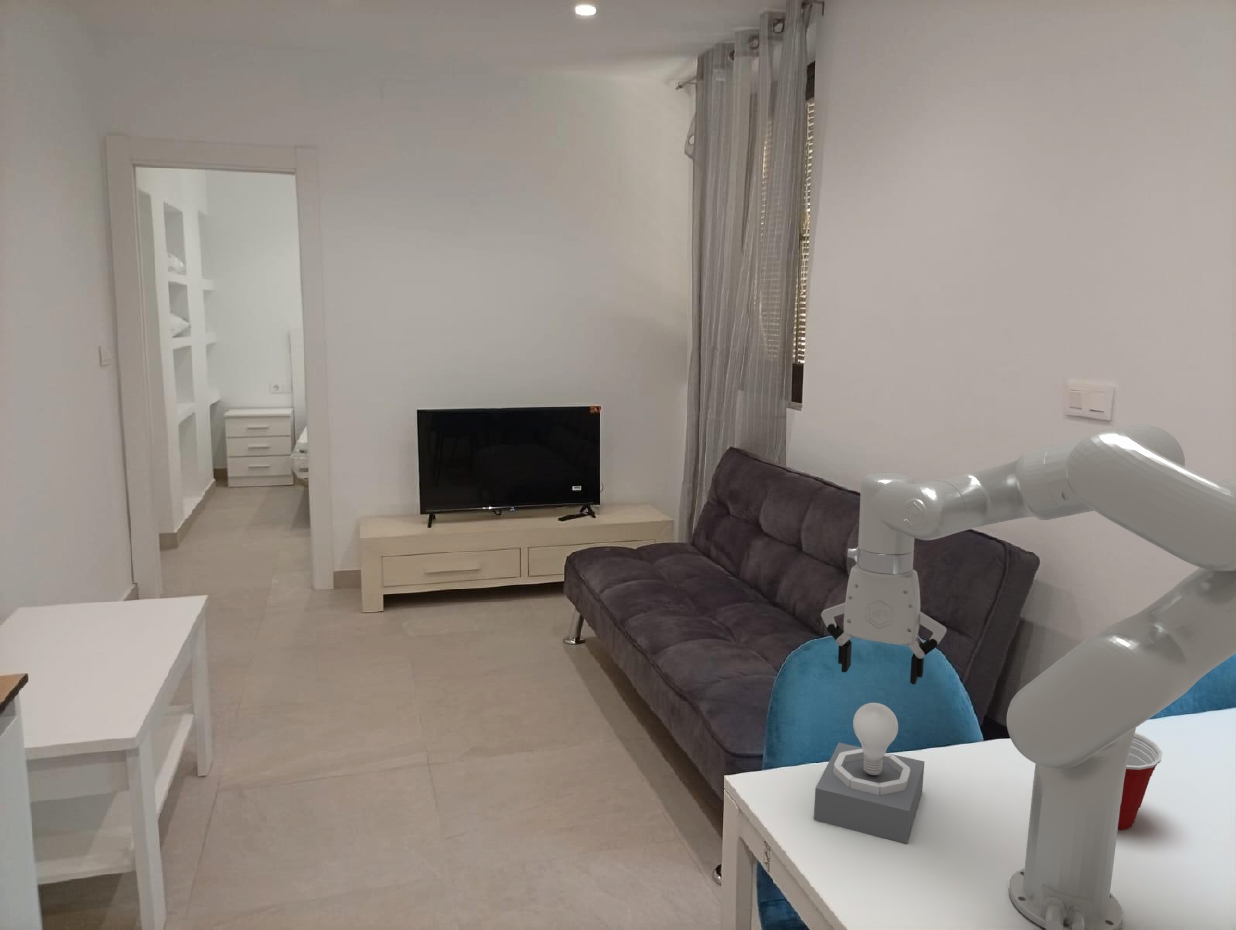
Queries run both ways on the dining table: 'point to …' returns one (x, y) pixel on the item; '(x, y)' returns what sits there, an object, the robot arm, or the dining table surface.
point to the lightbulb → (874, 734)
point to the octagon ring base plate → (869, 794)
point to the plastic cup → (1137, 778)
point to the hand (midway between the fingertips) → (879, 674)
